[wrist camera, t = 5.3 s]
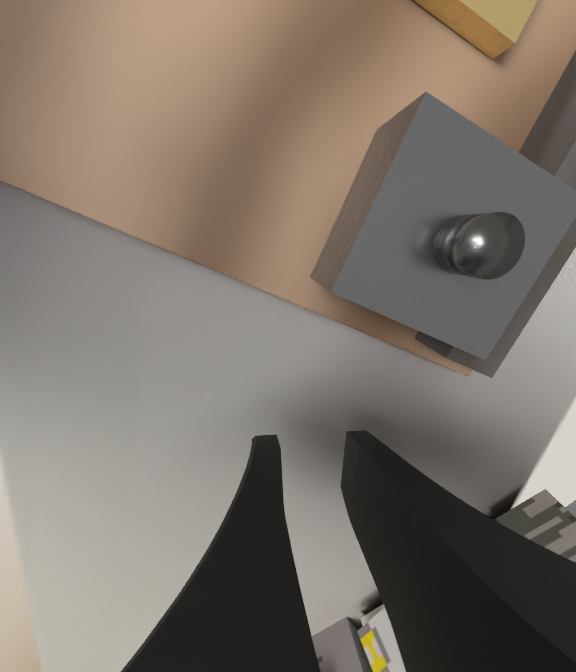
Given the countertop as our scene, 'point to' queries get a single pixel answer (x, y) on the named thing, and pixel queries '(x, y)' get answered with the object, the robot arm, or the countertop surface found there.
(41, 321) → the countertop surface
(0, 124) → the brown wooden board
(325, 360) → the countertop surface
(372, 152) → the knobbed plate
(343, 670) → the toy figure
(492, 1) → the yellow rectangular block
